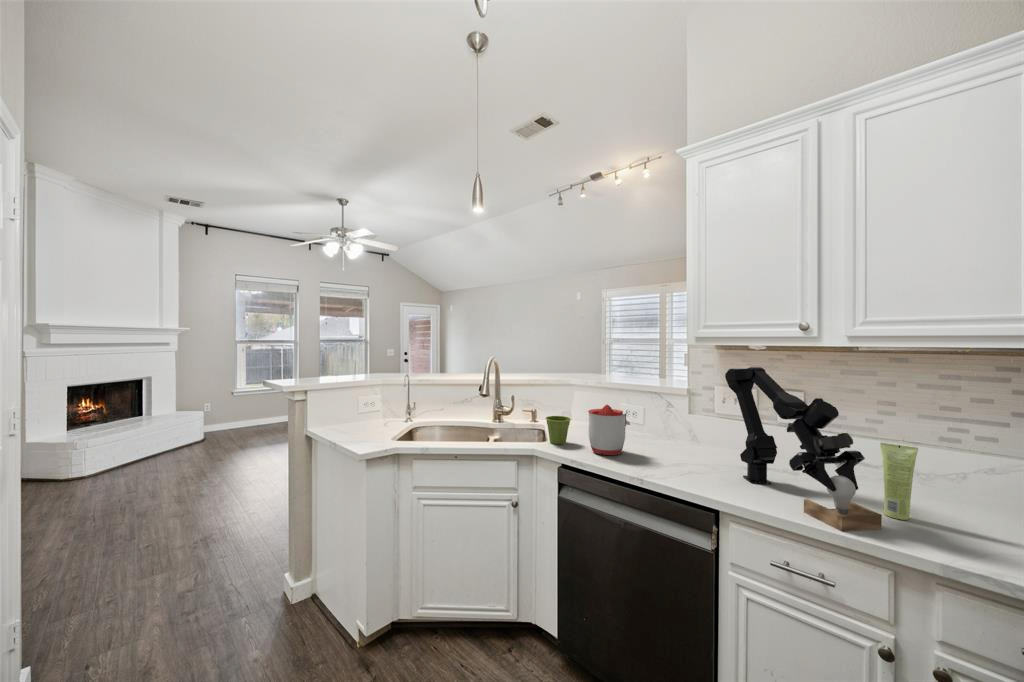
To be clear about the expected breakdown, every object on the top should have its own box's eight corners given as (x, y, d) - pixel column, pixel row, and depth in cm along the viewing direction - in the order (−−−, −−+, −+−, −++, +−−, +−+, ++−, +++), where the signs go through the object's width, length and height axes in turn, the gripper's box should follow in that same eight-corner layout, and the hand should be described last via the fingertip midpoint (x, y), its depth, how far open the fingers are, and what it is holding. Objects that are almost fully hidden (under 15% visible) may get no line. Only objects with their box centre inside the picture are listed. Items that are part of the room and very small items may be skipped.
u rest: (803, 512, 115) (803, 499, 115) (840, 510, 117) (840, 497, 117) (841, 531, 104) (841, 516, 104) (881, 528, 105) (881, 514, 105)
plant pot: (542, 444, 186) (542, 419, 186) (547, 438, 197) (548, 415, 197) (568, 447, 182) (569, 421, 182) (572, 440, 194) (573, 416, 193)
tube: (898, 512, 116) (899, 442, 115) (917, 520, 110) (918, 446, 110) (879, 512, 115) (880, 442, 115) (897, 521, 110) (898, 447, 110)
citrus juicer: (634, 457, 167) (635, 407, 167) (590, 457, 167) (591, 407, 167) (624, 447, 182) (625, 401, 182) (584, 447, 183) (585, 401, 183)
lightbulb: (836, 522, 108) (834, 480, 108) (822, 512, 114) (820, 472, 114) (863, 522, 107) (860, 479, 107) (847, 512, 113) (845, 472, 113)
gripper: (798, 422, 113) (834, 477, 102) (859, 421, 115) (900, 474, 105) (775, 444, 121) (806, 497, 110) (832, 442, 123) (868, 494, 112)
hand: (845, 490), depth 109 cm, fingers open, 6 cm apart
